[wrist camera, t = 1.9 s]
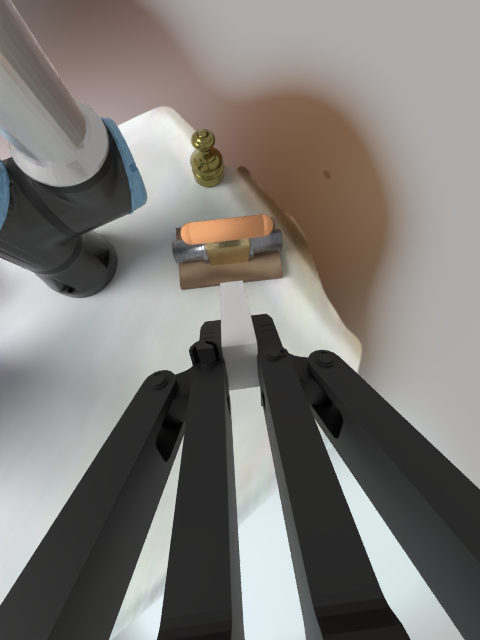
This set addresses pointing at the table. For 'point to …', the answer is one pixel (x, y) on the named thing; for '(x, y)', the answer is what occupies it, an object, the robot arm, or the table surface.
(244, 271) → the pipe valve
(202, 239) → the valve lever
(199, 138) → the gold pawn figurine
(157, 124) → the table surface
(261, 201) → the table surface
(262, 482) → the table surface
